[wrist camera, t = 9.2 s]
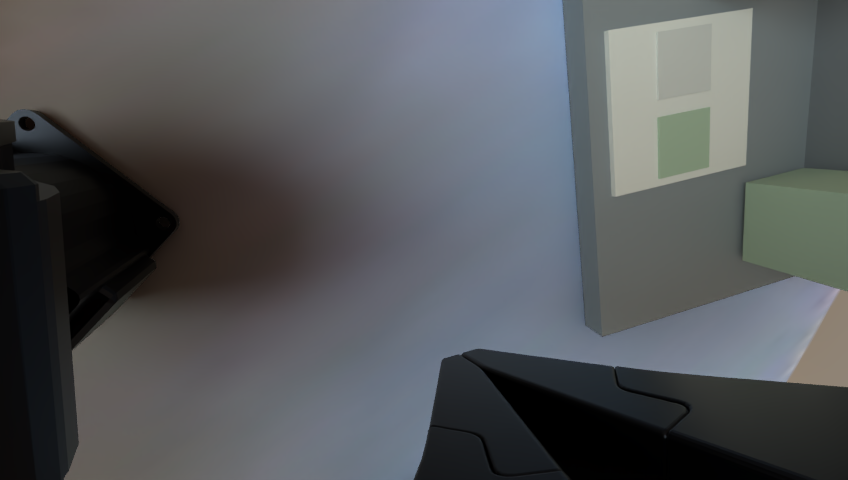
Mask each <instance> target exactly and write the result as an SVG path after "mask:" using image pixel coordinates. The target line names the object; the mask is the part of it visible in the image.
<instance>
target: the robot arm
mask: <svg viewBox="0 0 848 480" xmlns="http://www.w3.org/2000/svg"><path fill="white" fill-rule="evenodd" d="M29 117H30V118H32V119H33V121H34V122H35V128H34V129H33V130H30V129H28V128H27V127H26V124H25V121H26V119H27V118H29ZM160 217H165V218H167V219H168V220H169V221H170V226H169V227H163V226H162V225H161V224H160V223H159V219H160ZM178 226H179V218H178V216H177V215H176V214H175V213H174V212H173V211H172V210H170V209H169V208H168V207H166V206H165V205H164V204H162V203H161V202H160V201H158V200H157V199H156V198H154V197H153V196H152V195H150V194H149V193H148V192H146V191H145V190H144V189H142V188H141V187H140V186H138V185H137V184H136V183H134V182H133V181H132V180H130V179H129V178H128V177H126V176H125V175H124V174H122V173H121V172H120V171H118V170H117V169H116V168H114V167H113V166H111V165H110V164H109V163H107V162H106V161H105V160H103V159H102V158H101V157H99V156H98V155H97V154H95V153H94V152H93V151H91V150H90V149H89V148H87V147H86V146H85V145H83V144H82V143H81V142H79V141H78V140H77V139H75V138H74V137H73V136H71V135H70V134H69V133H67V132H66V131H65V130H63V129H62V128H61V127H59V126H58V125H57V124H55V123H54V122H53V121H51V120H50V119H49V118H47V117H46V116H45V115H43V114H42V113H40V112H38V111H34V110H26V109H22V110H17V111H16V112H14V113H13V114H12V115H11V116H10V117H9V118H8V119H7V120H1V119H0V480H64V477H65V475H66V474H67V472H68V471H69V468H70V466H71V463H72V460H73V458H74V455H75V452H76V449H77V447H78V444H79V441H78V428H77V415H76V402H75V388H74V375H73V362H72V350H73V349H74V348H75V347H77V346H78V345H79V344H80V343H81V342H82V341H83V340H84V339H85V338H86V337H88V336H89V335H90V334H91V333H92V332H93V331H94V330H95V329H96V328H97V327H99V326H100V325H101V324H102V323H103V322H104V321H105V320H106V319H107V318H108V317H110V316H111V315H112V314H113V313H114V312H115V311H116V310H117V309H118V308H119V307H120V306H121V305H122V304H123V303H124V302H125V301H126V300H127V299H128V297H129V296H130V295H131V294H132V293H133V292H134V291H135V290H136V289H137V288H138V287H139V286H140V285H141V284H142V282H143V281H144V280H145V279H146V278H147V277H148V276H149V275H150V274H151V273H152V272H153V271H154V270H155V269H156V261H155V260H153V259H152V258H150V257H151V256H152V255H153V254H154V253H155V252H156V251H157V250H158V249H159V247H160V246H161V245H162V244H163V243H164V242H165V241H166V240H167V239H168V238H169V237H170V236H171V235H172V234H173V233H174V231H175V230H176V229H177V228H178ZM414 480H848V387H837V386H825V385H812V384H799V383H787V382H775V381H762V380H750V379H737V378H725V377H712V376H700V375H689V374H679V373H668V372H659V371H650V370H642V369H633V368H626V367H618V366H617V367H615V369H614V367H612V366H605V365H597V364H590V363H582V362H575V361H567V360H560V359H552V358H545V357H537V356H530V355H522V354H515V353H507V352H500V351H492V350H485V349H475V350H471V351H468V352H464V353H463V354H462V355H454V356H451V357H447V358H444V359H443V360H442V362H441V367H440V373H439V378H438V384H437V389H436V394H435V400H434V405H433V411H432V416H431V422H430V427H429V430H428V435H427V440H426V444H425V448H424V452H423V456H422V459H421V462H420V465H419V467H418V470H417V473H416V475H415V478H414Z"/></svg>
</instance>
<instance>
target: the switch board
mask: <svg viewBox="0 0 848 480" xmlns="http://www.w3.org/2000/svg"><path fill="white" fill-rule="evenodd" d="M563 14H564V28H565V42H566V56H567V70H568V85H569V99H570V113H571V127H572V141H573V155H574V169H575V184H576V198H577V212H578V226H579V240H580V254H581V268H582V283H583V297H584V311H585V325H586V326H587V327H589V328H590V329H592V330H593V331H595V332H596V333H597V334H599V335H600V336H602V337H603V336H606V335H610V334H613V333H616V332H619V331H622V330H625V329H629V328H632V327H635V326H638V325H641V324H644V323H648V322H651V321H654V320H657V319H660V318H663V317H667V316H670V315H673V314H676V313H679V312H682V311H686V310H689V309H692V308H695V307H698V306H701V305H705V304H708V303H711V302H714V301H717V300H720V299H724V298H727V297H730V296H733V295H736V294H739V293H743V292H746V291H749V290H752V289H755V288H759V287H762V286H765V285H768V284H771V283H774V282H778V281H781V280H784V279H787V278H790V277H793V276H794V275H790V274H787V273H783V272H780V271H777V270H773V269H770V268H766V267H763V266H760V265H756V264H753V263H749V262H746V261H743V260H742V257H743V234H744V212H745V189H746V182H750V181H754V180H758V179H762V178H766V177H770V176H774V175H778V174H781V173H785V172H789V171H793V170H797V169H801V168H813V169H827V170H841V171H848V0H563Z"/></svg>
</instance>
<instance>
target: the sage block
mask: <svg viewBox="0 0 848 480" xmlns="http://www.w3.org/2000/svg"><path fill="white" fill-rule="evenodd" d="M742 260H743V261H746V262H749V263H753V264H756V265H760V266H763V267H766V268H770V269H773V270H777V271H780V272H783V273H787V274H790V275H794V276H797V277H800V278H804V279H807V280H811V281H814V282H817V283H821V284H824V285H828V286H831V287H834V288H838V289H841V290H845V291H848V171H841V170H827V169H813V168H801V169H797V170H793V171H789V172H785V173H781V174H778V175H774V176H770V177H766V178H762V179H758V180H754V181H750V182H746V189H745V212H744V234H743V257H742Z"/></svg>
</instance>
